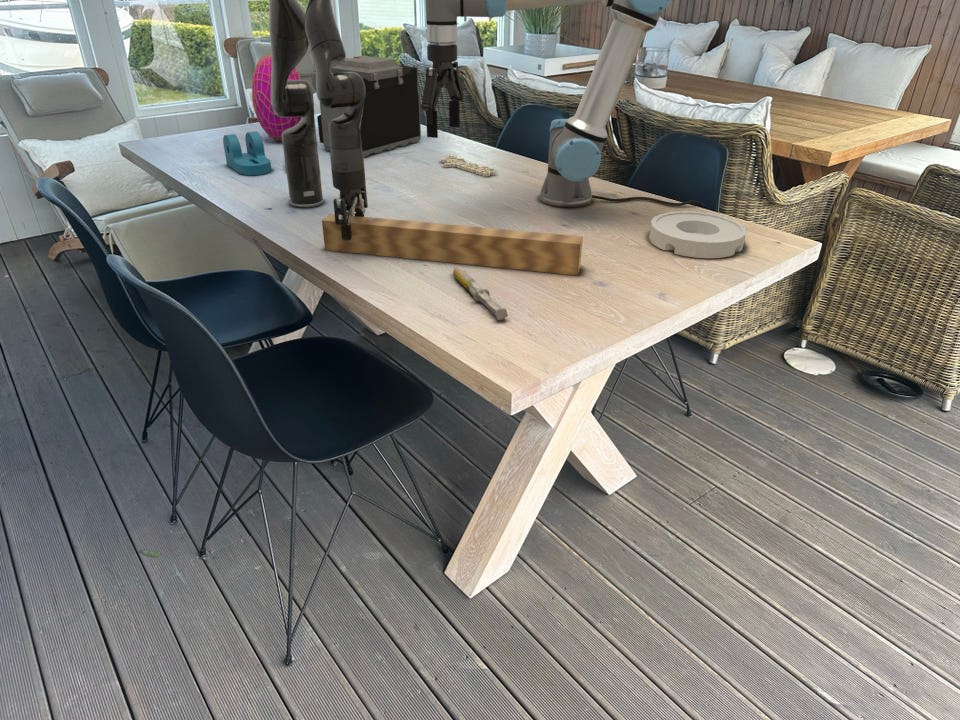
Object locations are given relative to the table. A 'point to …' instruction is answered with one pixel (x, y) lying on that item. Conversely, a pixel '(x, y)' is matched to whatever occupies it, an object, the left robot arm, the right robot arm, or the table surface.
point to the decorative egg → (269, 100)
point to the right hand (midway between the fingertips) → (443, 132)
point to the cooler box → (380, 104)
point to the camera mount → (246, 154)
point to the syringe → (479, 293)
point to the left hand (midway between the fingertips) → (353, 233)
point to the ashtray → (697, 234)
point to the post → (457, 244)
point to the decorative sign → (467, 166)
